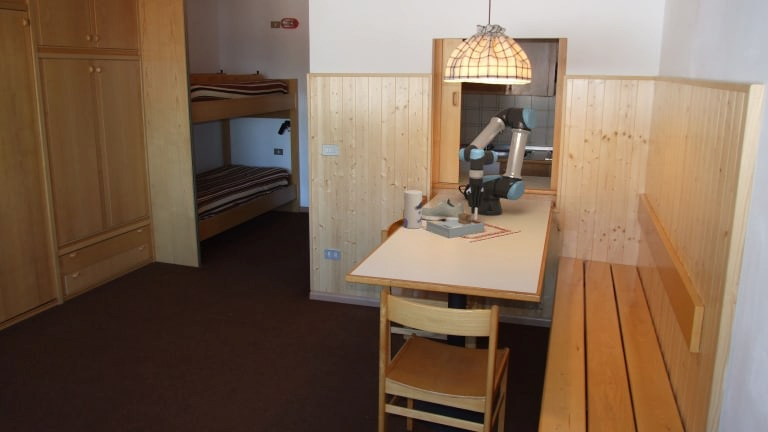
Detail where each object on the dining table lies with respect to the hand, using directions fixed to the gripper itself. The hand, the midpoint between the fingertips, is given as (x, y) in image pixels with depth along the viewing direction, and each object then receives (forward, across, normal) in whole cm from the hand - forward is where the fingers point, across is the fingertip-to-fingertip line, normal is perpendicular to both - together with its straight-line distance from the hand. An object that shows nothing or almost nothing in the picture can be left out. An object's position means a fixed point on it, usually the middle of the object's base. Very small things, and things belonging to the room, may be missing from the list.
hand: (474, 218), depth 369 cm
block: (+2, -7, 0) cm, 7 cm away
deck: (+5, -15, -1) cm, 16 cm away
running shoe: (+5, -6, +22) cm, 23 cm away
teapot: (+5, +49, +54) cm, 74 cm away
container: (+5, -29, +19) cm, 35 cm away
